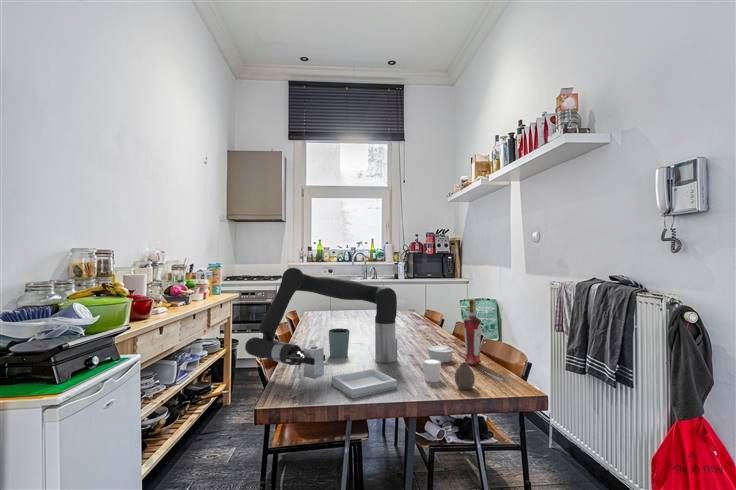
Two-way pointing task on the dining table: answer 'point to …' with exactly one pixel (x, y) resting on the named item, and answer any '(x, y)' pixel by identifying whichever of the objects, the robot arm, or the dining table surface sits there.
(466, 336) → the liquor
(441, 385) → the dining table surface
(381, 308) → the robot arm
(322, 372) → the steel block
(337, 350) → the green cup
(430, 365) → the white cylinder
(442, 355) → the ramekin
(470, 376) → the grey egg-shaped piece
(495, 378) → the butter knife
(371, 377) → the tray
